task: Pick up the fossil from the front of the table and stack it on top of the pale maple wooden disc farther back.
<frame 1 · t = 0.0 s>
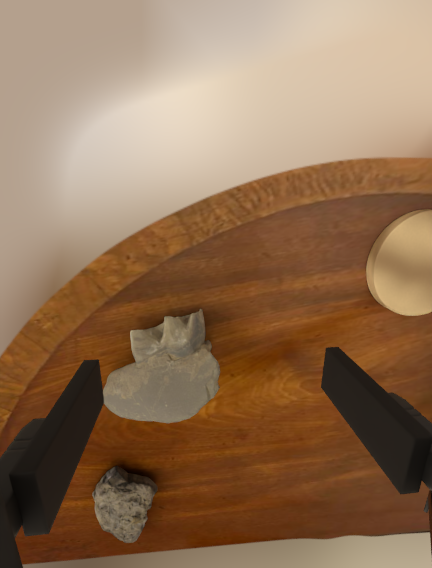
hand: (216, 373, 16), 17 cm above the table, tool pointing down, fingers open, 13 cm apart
stone: (126, 493, 40), on the table
maple disc: (415, 263, 34), on the table
fossil: (160, 350, 34), on the table
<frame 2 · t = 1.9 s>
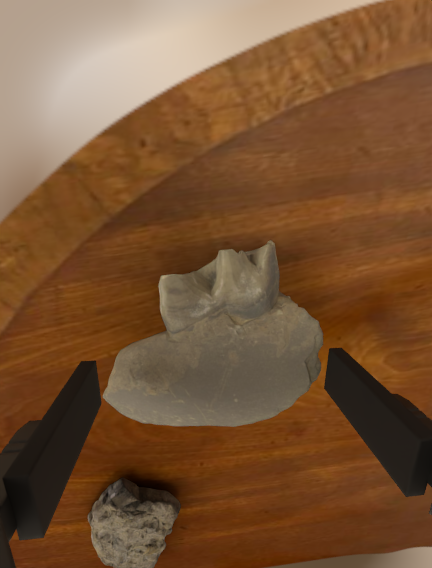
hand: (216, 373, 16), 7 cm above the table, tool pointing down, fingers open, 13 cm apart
stone: (136, 512, 29), on the table
fossil: (191, 310, 21), point 1 cm above the table, touching gripper
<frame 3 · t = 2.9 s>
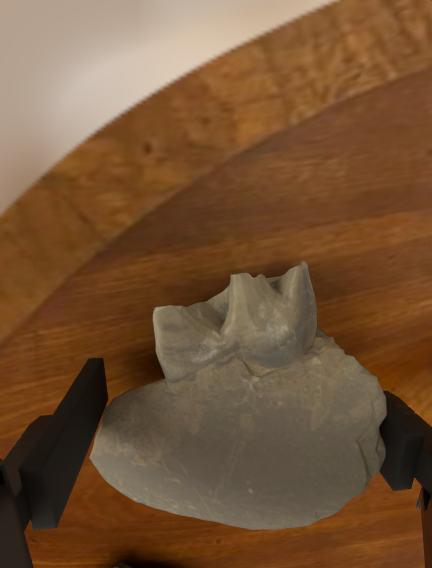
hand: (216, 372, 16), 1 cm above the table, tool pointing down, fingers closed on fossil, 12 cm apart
fossil: (206, 351, 17), on the table, touching gripper
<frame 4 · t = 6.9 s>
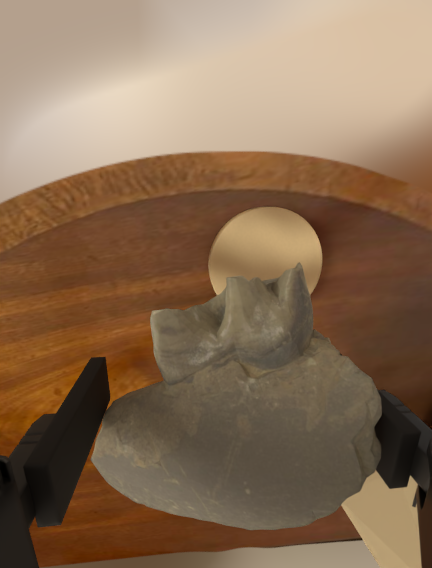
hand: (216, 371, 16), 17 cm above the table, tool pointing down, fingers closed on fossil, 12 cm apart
maple disc: (263, 264, 32), on the table
fossil: (205, 353, 17), point 15 cm above the table, touching gripper
perfume bottle: (352, 443, 42), on the table
when the fingers open (3 cm above the table, at t = 11.2 s): fossil stays where it is, resting on maple disc.
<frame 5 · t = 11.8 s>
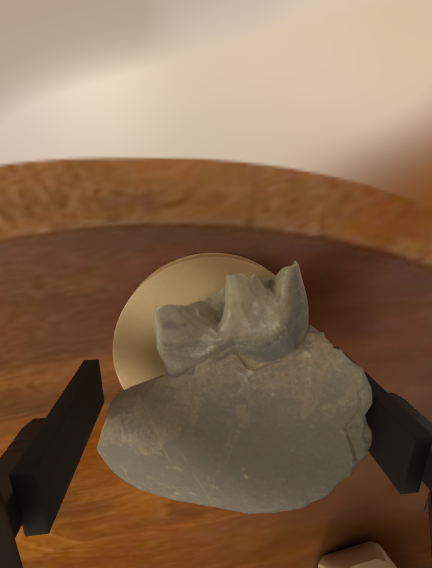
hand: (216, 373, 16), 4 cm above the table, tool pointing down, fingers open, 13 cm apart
maple disc: (212, 342, 19), on the table, touching fossil
fossil: (206, 349, 18), point 1 cm above the table, touching maple disc
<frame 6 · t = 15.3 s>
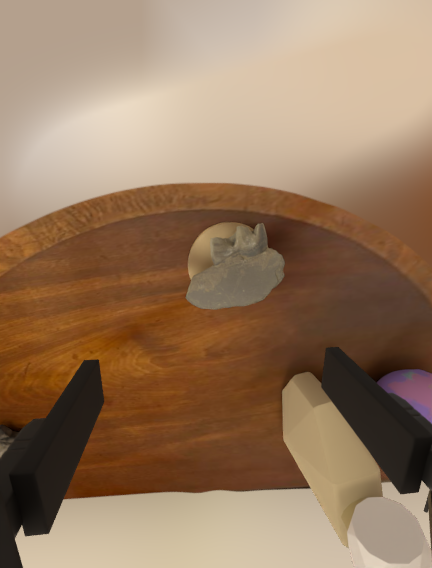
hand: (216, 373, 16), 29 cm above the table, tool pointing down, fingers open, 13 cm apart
decorative ball: (386, 386, 54), on the table
stone: (17, 449, 49), on the table
maple disc: (228, 263, 44), on the table, touching fossil
fossil: (226, 263, 42), point 1 cm above the table, touching maple disc
perfume bottle: (302, 405, 53), on the table
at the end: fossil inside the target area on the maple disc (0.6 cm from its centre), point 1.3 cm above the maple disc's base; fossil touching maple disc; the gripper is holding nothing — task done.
